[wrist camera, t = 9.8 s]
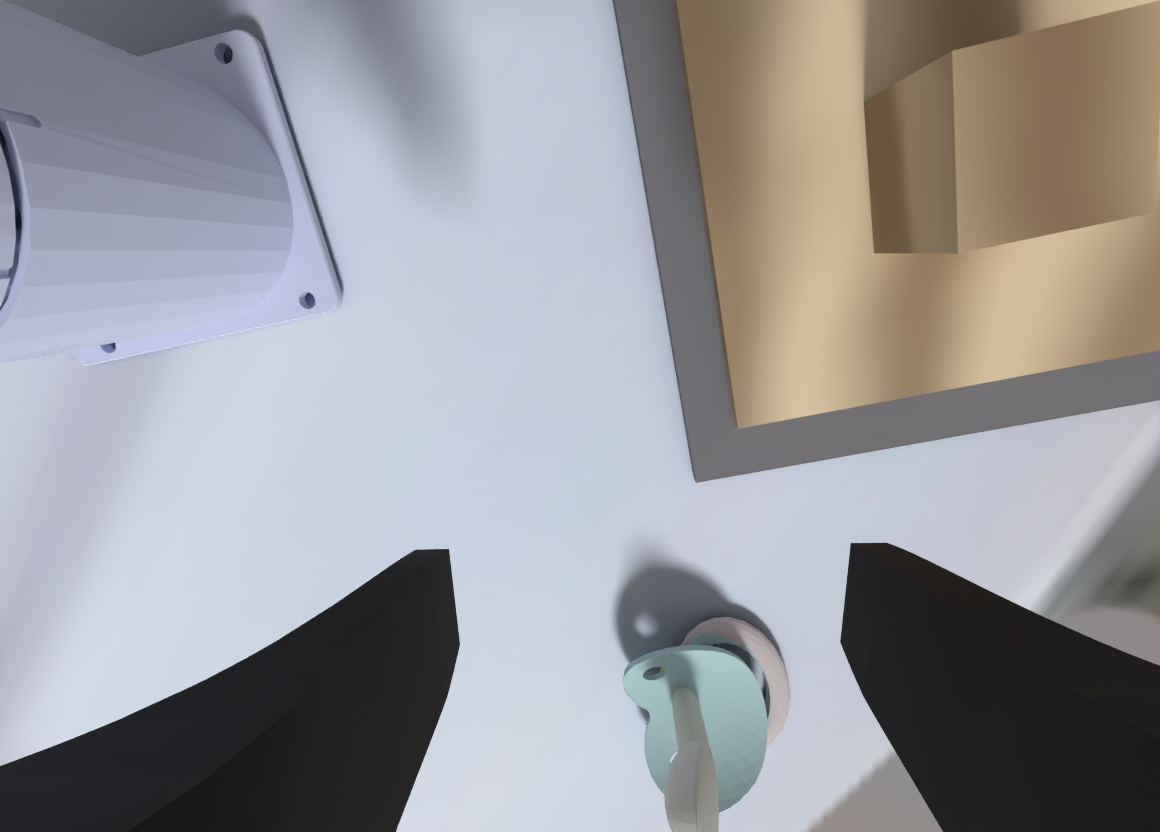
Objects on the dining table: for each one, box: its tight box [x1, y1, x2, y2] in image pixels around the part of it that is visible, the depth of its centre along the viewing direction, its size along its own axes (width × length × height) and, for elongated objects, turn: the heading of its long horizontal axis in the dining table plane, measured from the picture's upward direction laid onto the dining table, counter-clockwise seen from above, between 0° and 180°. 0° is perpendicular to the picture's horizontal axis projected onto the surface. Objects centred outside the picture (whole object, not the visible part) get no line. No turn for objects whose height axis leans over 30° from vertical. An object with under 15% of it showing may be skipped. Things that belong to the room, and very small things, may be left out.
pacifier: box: [623, 617, 790, 832], centre depth 19 cm, size 7×6×6 cm
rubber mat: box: [613, 0, 1160, 483], centre depth 16 cm, size 16×16×1 cm
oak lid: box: [672, 0, 1160, 429], centre depth 14 cm, size 13×13×5 cm
